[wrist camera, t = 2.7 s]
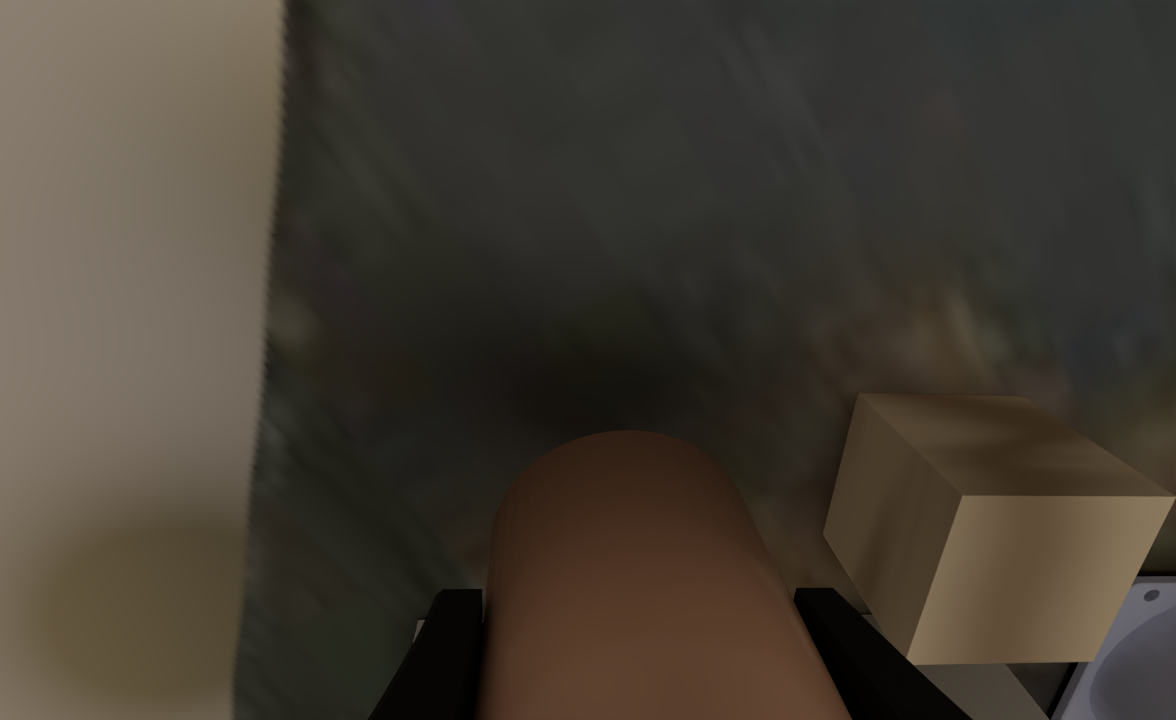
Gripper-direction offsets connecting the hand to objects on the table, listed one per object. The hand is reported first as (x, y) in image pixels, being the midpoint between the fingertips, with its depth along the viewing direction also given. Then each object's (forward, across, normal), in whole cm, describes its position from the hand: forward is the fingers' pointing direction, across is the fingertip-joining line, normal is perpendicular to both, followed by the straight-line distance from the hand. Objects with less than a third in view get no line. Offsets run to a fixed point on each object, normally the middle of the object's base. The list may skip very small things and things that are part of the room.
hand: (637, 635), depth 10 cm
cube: (+8, -10, +2) cm, 13 cm away
